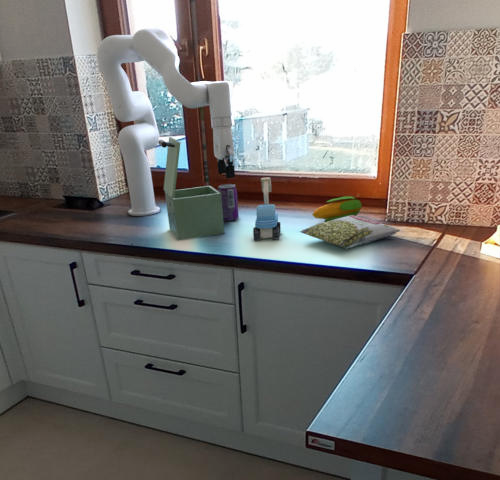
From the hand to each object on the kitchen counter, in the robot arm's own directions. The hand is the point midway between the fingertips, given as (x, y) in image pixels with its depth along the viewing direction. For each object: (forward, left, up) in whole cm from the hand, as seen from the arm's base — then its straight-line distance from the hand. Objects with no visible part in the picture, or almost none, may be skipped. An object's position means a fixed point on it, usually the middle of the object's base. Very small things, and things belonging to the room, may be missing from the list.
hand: (226, 175), depth 208 cm
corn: (+21, +34, -16) cm, 43 cm away
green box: (+10, -15, -16) cm, 24 cm away
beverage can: (0, 0, -16) cm, 16 cm away
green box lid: (+10, -21, +6) cm, 24 cm away
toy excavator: (+26, +6, -16) cm, 31 cm away
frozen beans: (+45, +27, -16) cm, 55 cm away
